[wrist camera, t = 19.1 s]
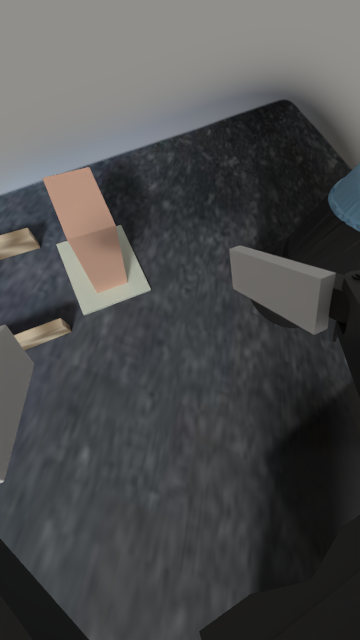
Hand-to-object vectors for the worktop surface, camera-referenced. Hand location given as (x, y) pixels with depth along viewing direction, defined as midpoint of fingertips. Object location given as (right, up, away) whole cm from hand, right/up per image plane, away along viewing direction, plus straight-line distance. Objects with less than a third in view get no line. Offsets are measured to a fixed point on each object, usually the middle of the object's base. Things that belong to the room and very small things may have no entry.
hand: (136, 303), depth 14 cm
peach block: (-10, +8, +24) cm, 27 cm away
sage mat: (-10, +8, +24) cm, 27 cm away
